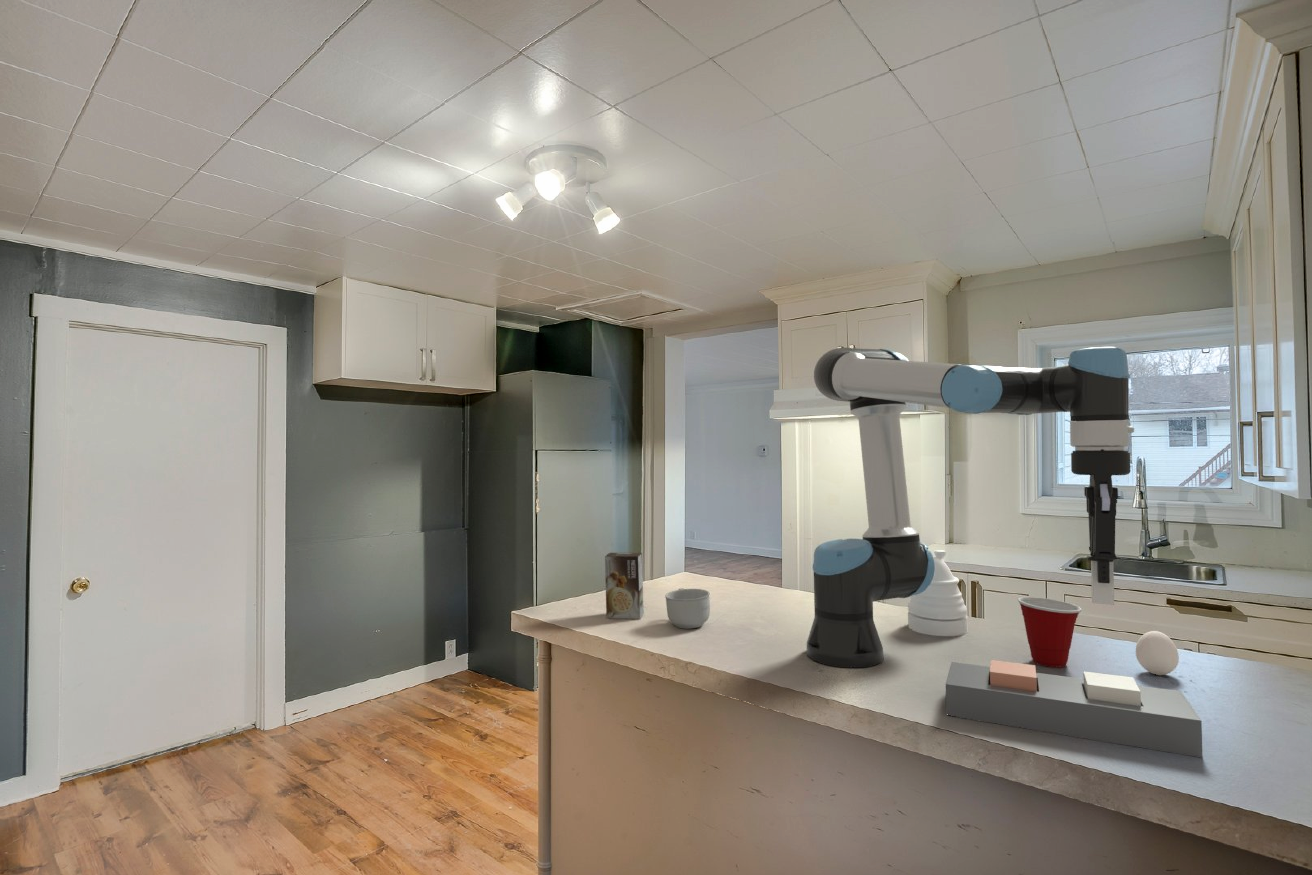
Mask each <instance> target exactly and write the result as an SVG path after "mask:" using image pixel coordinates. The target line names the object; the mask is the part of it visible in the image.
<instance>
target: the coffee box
mask: <svg viewBox="0 0 1312 875" xmlns="http://www.w3.org/2000/svg"><path fill="white" fill-rule="evenodd" d="M604 573H605V574H604V575H605V576H604V577H605V578H604V579H605V608H606V610H605V611H606V612H605V613H606V617H605V618H606V619H617V620H618V619H620V620H621V619H623V620H624V619H625V620H626V619H628V620H629V619H630V620H631V619H633V620H641V619H642V617H643V616H644V614H645V609H644V607H645V606H644V583H643V582H644V578H643V574H644V571H643V552H609V553H607V554H606V555H605V556H604Z"/></svg>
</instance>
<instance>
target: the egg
mask: <svg viewBox="0 0 1312 875" xmlns="http://www.w3.org/2000/svg"><path fill="white" fill-rule="evenodd" d="M1135 657H1136V660H1137V661H1138V664H1140V666H1141V667H1142V668H1143V669H1144V670H1145V671H1147V672H1148V673H1150V674H1153V675H1155V674H1156V675H1155V676H1166V675H1168V674H1171V673H1172V672H1174V671H1175V669H1176V668H1177V667H1178V665H1179V660H1180V656H1179V651H1178V648H1177V646H1176V645H1175V643H1174V642H1173V639H1171V638H1170V637H1169V636H1168V635H1166V634H1165V633H1163V632H1160V631H1158V630H1152V631H1151V630H1150V631H1147V632H1146V633H1143V635H1141V636H1140V638H1139V639H1138V641H1137V642H1136V646H1135Z"/></svg>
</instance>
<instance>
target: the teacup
mask: <svg viewBox="0 0 1312 875" xmlns="http://www.w3.org/2000/svg"><path fill="white" fill-rule="evenodd" d="M710 595H711V594H710V592H709V591H708V590H706V589H701V588H682V587H680V588H678V589H676V590H672V591H669V592H667V593H666V594H665V595H664V596H665V603H666V604H665V605H666V612H667V613H666V614H667V618H668V620H669V622H670V623H671V624H672V625H674V626H675V627H677V628H678V629H685V630H687V629H689V630H690V629H696V628H700V627H702V626H703V625H704V624H705V623H706V622H707V621H708V620H709V618H710V614H711V611H710V610H711V604H710Z"/></svg>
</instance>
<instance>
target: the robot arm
mask: <svg viewBox="0 0 1312 875" xmlns="http://www.w3.org/2000/svg"><path fill="white" fill-rule="evenodd" d="M1128 364H1129V362H1128V355H1127V352H1126V351H1125V349H1123V348H1120V347H1116V346H1101V347H1099V346H1098V347H1088V348H1087V347H1086V348H1080V349H1075V350H1072V351H1071V352H1070V354H1069V357H1068V362H1067V364H1064V365H1060V366H1059V365H1058V366H1050V367H1049V366H1048V367H1038V368H1037V367H1032V368H1031V367H1014V366H1013V367H1011V366H994V365H983V364H981V365H980V364H972V363H971V364H970V363H969V364H959V363H947V362H946V363H945V362H944V363H943V362H933V361H932V362H930V361H929V362H927V361H914V360H912V361H911V360H909V359H908V358H907V357H906V356H904V355H903V354H902V353H900V352H897V351H894V350H889V349H885V348H878V349H876V348H857V347H856V348H855V347H837V348H833V349H831V350H828V351H827V352H825V353H824V354H822V356H821V357H819V359H818V360H817V361H816V364H815V367H814V370H813V381H814V383H815V386H816V388H817V391H819V392H820V394H821V395H823V396H824V397H826V398H827V399H830V400H833V401H837V402H847V403H848V402H849V408H850V413H851V414H852V415H853V416H854V417H855V418H857V420H858V428H859V438H860V439H859V440H860V449H861V459H862V468H863V469H862V470H863V479H864V480H863V481H864V491H865V500H866V511H867V512H866V513H867V522H868V528H867V529H866V531H864V533H863V534H862V536H861V537H862V538H845V539H842V538H841V539H834V540H829V541H825V542H822V543H821V544H819V545H817V547H816V548H815V549H814V552H813V563H812V571H813V594H814V595H813V600H814V601H813V602H814V603H813V605H814V607H813V609H814V617H813V620H812V624H811V628H810V630H809V634H808V636H807V640H806V655H807V657H808V658H809V659H811V660H812V661H814V662H817V663H819V664H822V665H827V666H832V667H840V668H853V667H854V668H866V667H873V666H875V665H878V664H880V663H882V662H883V661H884V646H883V644H882V642H881V638H880V635H879V633H878V629H877V628H876V627H877V626H876V624H875V621H874V602H879V601H884V600H885V601H887V600H891V599H897V598H898V599H906V598H907V599H908V598H911V596H912V595H917V594H920V593H922V592H923V591H925V590H926V589H927V587H928V586H929V585H930V584H931V582H932V580H933V577H934V571H935V564H934V558H933V557H934V556H933V553H932V552H931V551H930V550H929V547H928V546H927V545H926V544H925V543H924V542H922V541H920V532H919V531H917V530H916V529H915V528H914V527H913V526H912V524H911V517H910V507H909V498H908V496H909V494H908V488H907V476H906V468H905V458H904V448H903V447H904V446H903V438H902V428H901V419H900V418H901V417H900V415H901V414H902V412H903V411H904V410H906V408H907V406H906V403H909V404H916V405H922V406H930V407H938V408H945V409H951V410H953V411H954V412H959V413H963V414H964V413H965V414H972V415H973V414H975V415H976V414H977V415H978V414H993V413H994V414H996V413H998V414H1007V415H1017V416H1022V415H1025V416H1031V415H1034V414H1050V413H1069V414H1070V415H1069V417H1070V421H1069V432H1070V433H1069V434H1070V435H1069V438H1070V441H1069V443H1070V446H1071V447H1073V448H1074V450H1072V452H1070V461H1071V463H1070V466H1071V468H1070V469H1071V473H1072V474H1074V475H1079V476H1089V485H1084V487H1083V488H1084V490H1083V491H1084V492H1083V493H1084V496H1085V498H1086V503H1085V504H1086V513H1088V514H1087V515H1088V532H1089V533H1088V536H1089V538H1088V539H1089V540H1088V541H1089V546H1088V550H1089V552H1090V555H1086V557H1087V561H1090V568H1091V570H1090V573H1091V576H1090V578H1091V580H1090V581H1091V602H1092V604H1098V605H1099V604H1100V605H1111V606H1114V605H1115V585H1114V584H1115V583H1114V582H1115V580H1114V579H1115V576H1114V575H1115V574H1114V573H1115V572H1114V570H1115V569H1114V560H1115V561H1116V560H1117V559H1118V558H1117V557H1118V556H1117V554H1116V516H1117V504H1118V498H1119V489H1118V487H1115V486H1113V480H1112V476H1127V475H1130V473H1131V453H1130V452H1129V450H1125V449H1126V448H1125V447H1129V446H1130V434H1133V433H1135V428H1134V427H1133V426H1129V425H1130V421H1129V420H1130V413H1129V410H1130V409H1129V405H1130V404H1129V401H1130V400H1129V391H1130V390H1129V384H1130V383H1129V379H1130V378H1131V376H1130V373H1129V365H1128Z"/></svg>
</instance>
